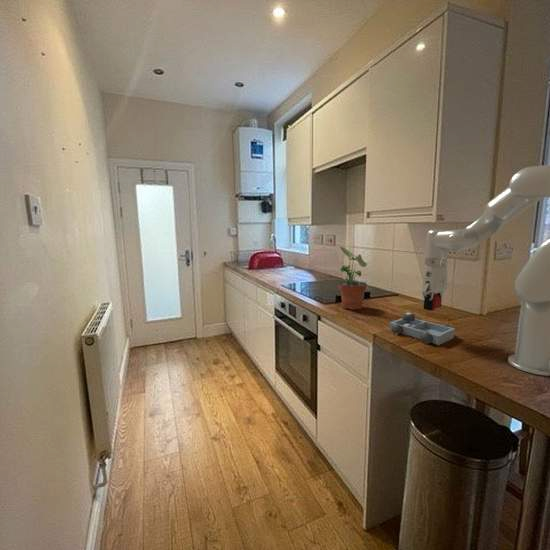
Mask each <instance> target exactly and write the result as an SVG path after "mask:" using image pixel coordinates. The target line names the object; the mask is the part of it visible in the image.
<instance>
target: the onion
mask: <svg viewBox="0 0 550 550" xmlns="http://www.w3.org/2000/svg"><path fill="white" fill-rule="evenodd" d="M429 295H431V294H429ZM441 298H442V297H441ZM441 298H440V297H439V295H437V294H434V295H433V299H432V300H433V310H432V311H431V312H433V311H435V310H437V309H439V307H440V305H441V306H442V301H441ZM440 308H441V307H440Z"/></svg>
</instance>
